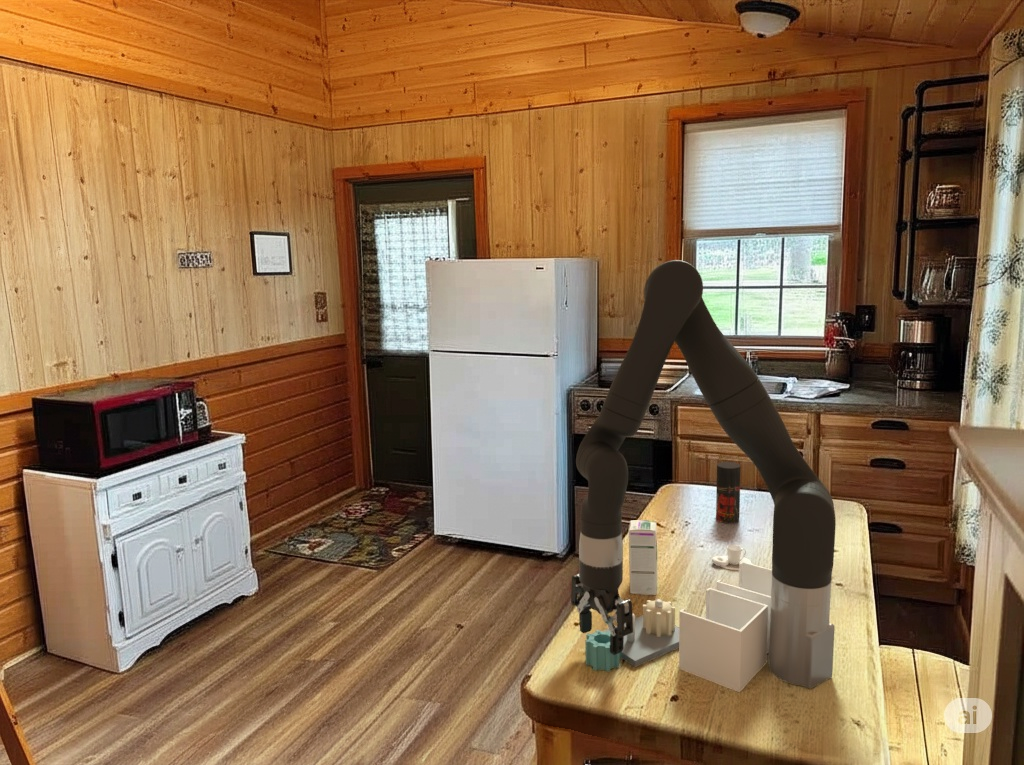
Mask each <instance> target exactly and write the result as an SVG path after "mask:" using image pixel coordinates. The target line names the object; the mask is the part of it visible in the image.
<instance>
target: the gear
mask: <svg viewBox="0 0 1024 765" xmlns="http://www.w3.org/2000/svg"><path fill="white" fill-rule="evenodd" d="M610 634H611V632H610V631H608V632H602V631H601V630H600V629H596V630H595V632H593V633H590V632H589V633H588V632H587V634H586V638H585V640H584V642H585V665H586V666H590V667H592V671H596V672H597V671H598V670H600V671H605V672H606V673H608V672H611V669H613V668H617V669H619V667H620V661H621V657H620V653H618V654H616V655H613V654H612V653H610Z"/></svg>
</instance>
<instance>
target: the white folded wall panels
mask: <svg viewBox="0 0 1024 765" xmlns="http://www.w3.org/2000/svg"><path fill="white" fill-rule="evenodd" d="M738 568H739V570H738V586H737V585H733V584H729V583H725V582H722V579H718V580H717V581H716V585H715V586H716V588H711V587H708V588H707V589H706V590H705V617H702V616H699V615H695V614H693V613H689V612H687V611H686V609H685V608H682V609H680V610H679V618H678V619H679V624H678V627H679V648H678V650H679V651H678V669H679V670H681V671H683V672H687V673H689V674H692V675H694V676H696V677H699V678H702V679H704V680H707V681H709V682H711V683H715V684H717V685H720V686H721V687H724V688H727V689H729V690H732V691H735V692H738V693H740V692H742V690H744V688H745V687H746V686H747V685H748V684H749V683H750V681H751V680H752V679H753V678H754V677H755V676H756V675H757V674H758V673H759V671H761V669H762V668H763V667H764V666H765V665H766V664H767V660H768V658H767V657H768V656H767V654H768V655H769V646H770V645H769V644H770V615H771V588H772V568H768V567H764V566H760V565H756V564H753V563H752V564H749V563H746V562H745V561H740V562H739V564H738Z"/></svg>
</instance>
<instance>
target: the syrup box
mask: <svg viewBox="0 0 1024 765" xmlns="http://www.w3.org/2000/svg"><path fill="white" fill-rule="evenodd" d="M657 533H658V532H657V521H655V520H649V519H636V520H630V521H629V526H628V560H629V561H628V563H629V564H628V565H629V566H628V567H629V568H628V569H629V570H628V571H629V573H628V574H629V593H630V594H633V595H644V596H645V595H646V596H647V595H648V596H657V594H658V541H657V540H658V539H657V535H658V534H657Z"/></svg>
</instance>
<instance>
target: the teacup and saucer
mask: <svg viewBox="0 0 1024 765" xmlns="http://www.w3.org/2000/svg"><path fill="white" fill-rule="evenodd" d="M742 551H744V552H743V555H742ZM726 554H727V555H721V556H713V557H712V558H711V562H712V563H713V564H714V565H715V566H718V567H721V568H723V569H727V570H729V571H730V570H731V571H739V567H729V566H728V565H729V564H730V565H733V566H735V565H739V563H740V562H745V563H749V564H753V563H752V561H751V560H750V559H748V558H746V557H745V556H746V554H747V551H746V549H745V548H742V547H741V546H739V545H736V544H730V545H727V546H726Z"/></svg>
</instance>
